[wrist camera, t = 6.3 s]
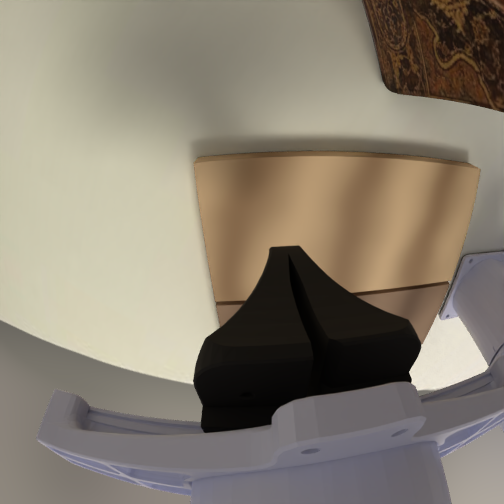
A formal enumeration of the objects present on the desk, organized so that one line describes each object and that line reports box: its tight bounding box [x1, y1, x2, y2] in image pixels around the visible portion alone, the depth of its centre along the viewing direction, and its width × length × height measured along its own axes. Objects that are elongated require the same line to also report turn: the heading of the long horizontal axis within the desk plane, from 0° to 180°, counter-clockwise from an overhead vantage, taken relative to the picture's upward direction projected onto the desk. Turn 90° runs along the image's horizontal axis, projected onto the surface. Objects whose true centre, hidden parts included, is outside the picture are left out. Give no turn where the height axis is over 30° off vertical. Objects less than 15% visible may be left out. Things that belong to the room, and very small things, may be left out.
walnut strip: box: [216, 281, 450, 344], centre depth 23 cm, size 20×8×2 cm, turn 93°
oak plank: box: [194, 151, 481, 302], centre depth 18 cm, size 20×10×2 cm, turn 93°
